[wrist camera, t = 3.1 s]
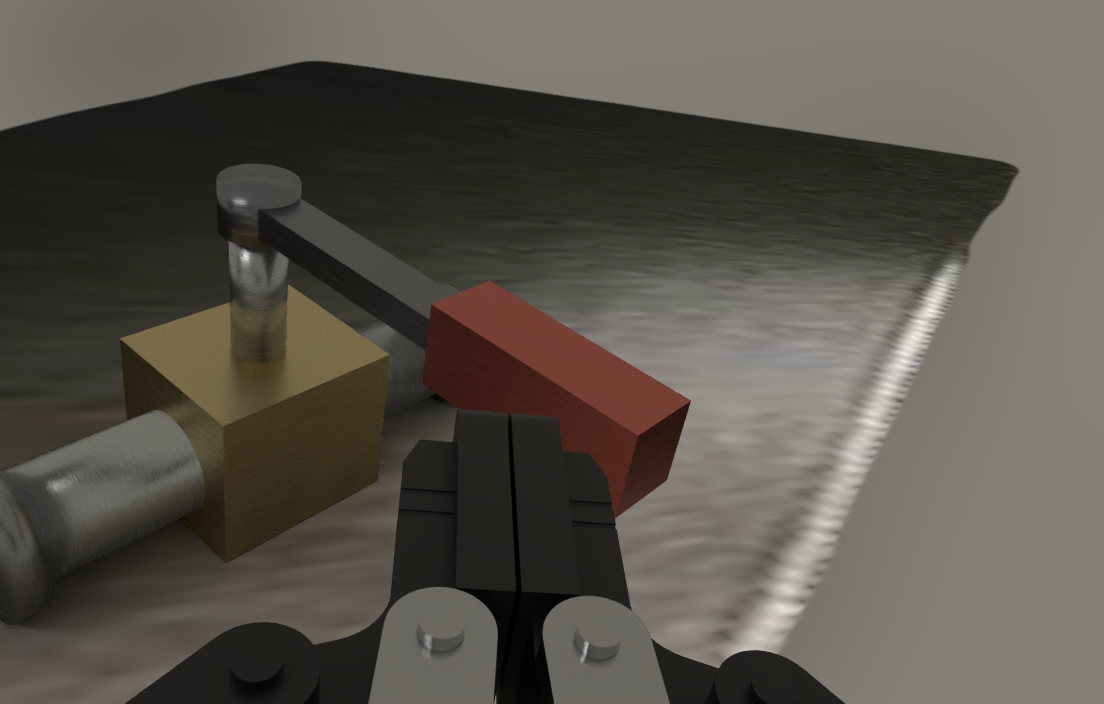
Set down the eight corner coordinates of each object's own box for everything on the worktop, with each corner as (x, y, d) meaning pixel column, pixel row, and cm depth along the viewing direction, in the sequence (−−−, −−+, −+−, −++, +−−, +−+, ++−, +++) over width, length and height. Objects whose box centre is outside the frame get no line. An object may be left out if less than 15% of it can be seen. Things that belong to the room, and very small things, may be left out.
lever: (201, 234, 37) (199, 160, 35) (268, 216, 39) (269, 146, 37) (610, 521, 27) (633, 438, 26) (670, 477, 30) (695, 398, 28)
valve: (35, 665, 34) (-17, 382, 27) (-56, 553, 37) (-121, 276, 31) (491, 418, 50) (527, 203, 44) (399, 355, 53) (420, 146, 47)
